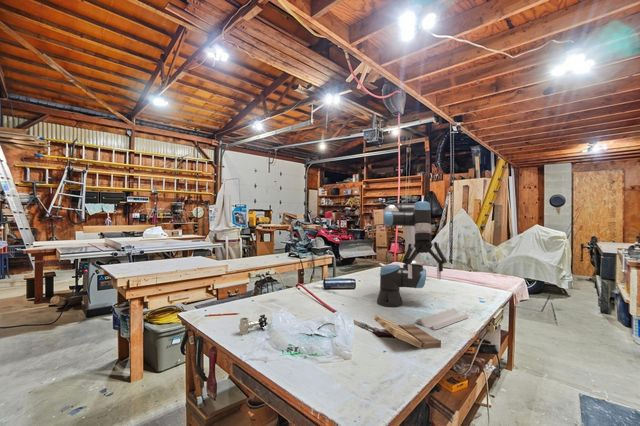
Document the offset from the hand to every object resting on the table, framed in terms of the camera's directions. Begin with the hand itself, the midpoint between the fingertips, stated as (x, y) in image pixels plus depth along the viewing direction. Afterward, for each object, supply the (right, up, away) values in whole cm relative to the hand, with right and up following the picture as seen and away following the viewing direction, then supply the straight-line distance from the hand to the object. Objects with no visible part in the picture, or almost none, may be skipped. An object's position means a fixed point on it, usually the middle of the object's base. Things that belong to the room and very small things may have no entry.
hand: (424, 278), depth 131 cm
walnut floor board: (-5, -24, -7) cm, 26 cm away
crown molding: (+15, -26, +16) cm, 34 cm away
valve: (-78, -23, -3) cm, 82 cm away
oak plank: (-16, -21, -9) cm, 28 cm away
